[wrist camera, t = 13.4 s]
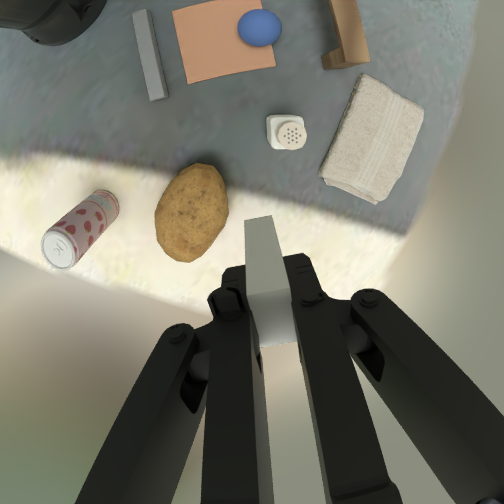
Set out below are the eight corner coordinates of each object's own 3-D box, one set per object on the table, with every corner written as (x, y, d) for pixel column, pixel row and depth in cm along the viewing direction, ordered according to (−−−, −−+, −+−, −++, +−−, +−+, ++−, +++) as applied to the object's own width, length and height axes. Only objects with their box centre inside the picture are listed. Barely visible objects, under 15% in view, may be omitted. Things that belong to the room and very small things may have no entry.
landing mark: (172, 11, 28) (171, 11, 28) (258, -7, 27) (258, -7, 27) (188, 84, 34) (188, 84, 34) (275, 66, 33) (276, 66, 33)
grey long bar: (137, 17, 28) (131, 13, 26) (150, 13, 28) (145, 8, 26) (155, 101, 35) (150, 101, 32) (168, 96, 35) (164, 96, 32)
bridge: (323, 69, 33) (346, 62, 25) (302, -17, 26) (317, -43, 18) (343, 68, 33) (370, 61, 25) (322, -17, 26) (341, -41, 18)
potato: (244, 169, 40) (245, 184, 33) (211, 250, 46) (206, 279, 39) (180, 146, 38) (166, 156, 31) (154, 231, 44) (139, 256, 37)
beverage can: (123, 196, 41) (77, 240, 28) (115, 227, 44) (73, 279, 30) (92, 184, 40) (40, 223, 27) (86, 216, 42) (38, 262, 29)
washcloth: (313, 177, 42) (318, 183, 39) (356, 70, 34) (364, 69, 31) (377, 204, 44) (385, 211, 41) (418, 107, 36) (429, 109, 33)
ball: (268, 14, 30) (229, 18, 29) (282, 2, 25) (238, 5, 24) (276, 48, 32) (237, 53, 31) (292, 39, 28) (248, 43, 27)
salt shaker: (294, 114, 37) (310, 117, 28) (295, 141, 38) (311, 153, 30) (265, 115, 37) (272, 118, 28) (267, 143, 38) (274, 154, 30)
